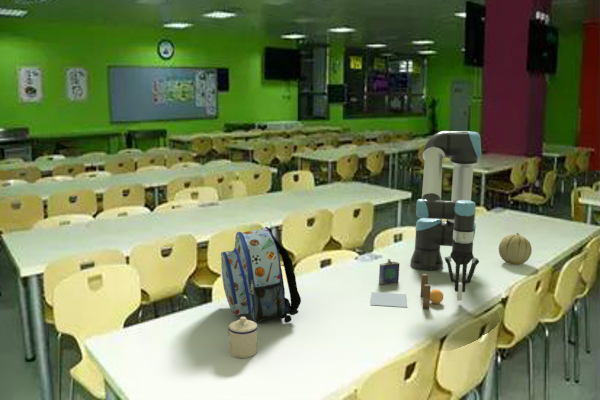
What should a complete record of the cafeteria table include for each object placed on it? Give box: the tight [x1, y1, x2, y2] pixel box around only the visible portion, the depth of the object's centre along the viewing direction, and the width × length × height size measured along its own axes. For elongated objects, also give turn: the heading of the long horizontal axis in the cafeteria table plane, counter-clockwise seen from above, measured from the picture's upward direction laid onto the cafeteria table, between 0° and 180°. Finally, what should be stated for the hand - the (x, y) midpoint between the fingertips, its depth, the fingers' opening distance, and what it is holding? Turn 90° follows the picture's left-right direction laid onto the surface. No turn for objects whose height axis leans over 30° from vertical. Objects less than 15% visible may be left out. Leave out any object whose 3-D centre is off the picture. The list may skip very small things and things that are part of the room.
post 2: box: [422, 284, 431, 310], centre depth 215 cm, size 3×3×9 cm
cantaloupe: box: [498, 232, 532, 266], centre depth 270 cm, size 15×15×15 cm
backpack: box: [220, 226, 302, 324], centre depth 208 cm, size 33×25×31 cm
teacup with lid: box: [227, 316, 258, 359], centre depth 178 cm, size 12×9×12 cm
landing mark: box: [370, 291, 408, 308], centre depth 224 cm, size 14×14×1 cm
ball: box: [430, 289, 444, 305], centre depth 220 cm, size 6×6×6 cm
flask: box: [378, 258, 400, 286], centre depth 242 cm, size 9×3×11 cm, turn 109°
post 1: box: [420, 273, 429, 298], centre depth 227 cm, size 3×3×9 cm
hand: (459, 299), depth 219 cm, fingers closed
